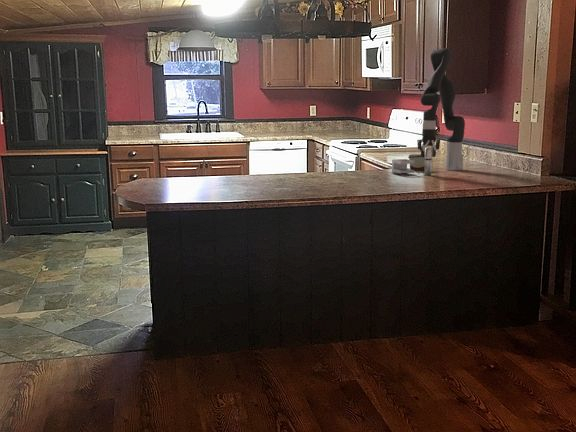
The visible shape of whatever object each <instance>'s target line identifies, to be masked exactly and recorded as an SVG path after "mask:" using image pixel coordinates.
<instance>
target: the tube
mask: <svg viewBox="0 0 576 432" xmlns="http://www.w3.org/2000/svg"><path fill="white" fill-rule="evenodd" d="M432 150H433V149H432V147H426V148H425V150H424V151H425V166H424V171H423V172H424V173H423V175H424V176H426V177H427V176H428V177H430V176H432V166H433V165H432V163H433V161H432V160H433V157H432Z"/></svg>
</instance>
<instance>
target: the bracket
mask: <svg viewBox="0 0 576 432" xmlns="http://www.w3.org/2000/svg"><path fill="white" fill-rule="evenodd" d="M414 163H415V161H413V160H409V158H407V159H406V158H402V159H401V158H399V159H391V171H390V174H391V173H392V174H391V175H402V174H401V173H407V174H415V171H414V170H411V169H410V168H408V165H410V164H414Z"/></svg>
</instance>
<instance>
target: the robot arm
mask: <svg viewBox="0 0 576 432" xmlns="http://www.w3.org/2000/svg"><path fill="white" fill-rule="evenodd" d="M451 60H452V51H451V50H450V49H449V48H448V47H444V48H440V49H433V50H432V51H431V52H430V62H431V65H432V68H433V73H432V74H431V75H430V77H429V79H428V83H427V86H426V88H425V89H424V91H423V92H422V94H421V96H420V104H421V105H423V106H425V107H426V106H427V107H430V106H431V108H430V109H425V110H424V111H423V121H422V134H421V135H422V138H421V139H417V150H418V151H420V154H421V156H422V157H424V155H425V148H428V147H430V148H432V158H435V157H436V156H437V150H439V149H440V143H441V139H440V138H436V134H437V133H436V132H437V111H438V107H439V104H440V100H441V106H442V112H443V121H444V127H445V128H446V130H447V131H451V132H452V134H451V135H450V136H448V137H447V138H446V156H445V158H446V159H445V160H446V161H445V170H446V171H462V170H463V169H464V168H463V167H464V154H463V140H464V137H465V136H464V135H465V128H466V127H465V126H466V122H465V119H464V116H460V115H455V113H454V110H453V108H454V106H453V105H454V103H455V100H456V94H457V93H456V89H455V85H454V82H453V81H452V80H451V78H449V77H448V76H447V75H446V71H447V70H448V68H449V65H450V63H451ZM438 93H439V94H438Z"/></svg>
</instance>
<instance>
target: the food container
mask: <svg viewBox="0 0 576 432" xmlns="http://www.w3.org/2000/svg"><path fill="white" fill-rule="evenodd" d="M407 159H408V160H413V161H415V163H414V164H409V169H411V170H414V172H424V166H425V155H424V157H422V156H421V153H420V154H419V153H418V154H416V153H415V154H414V153H413V154H409V155H408V158H407Z"/></svg>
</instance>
